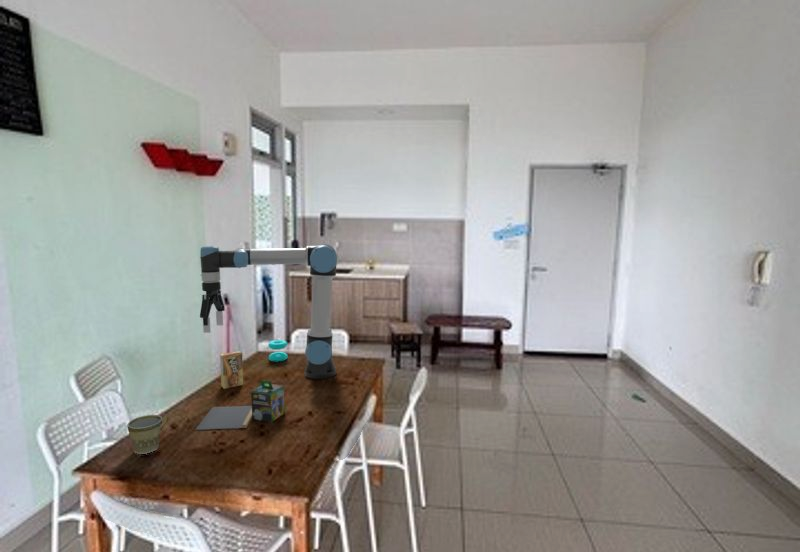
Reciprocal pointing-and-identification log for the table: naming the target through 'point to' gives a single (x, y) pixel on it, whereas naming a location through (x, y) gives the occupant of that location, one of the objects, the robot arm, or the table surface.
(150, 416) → the ceramic cup
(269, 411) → the chalk box
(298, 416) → the table surface
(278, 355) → the donuts
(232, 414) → the mat
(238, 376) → the candy box
